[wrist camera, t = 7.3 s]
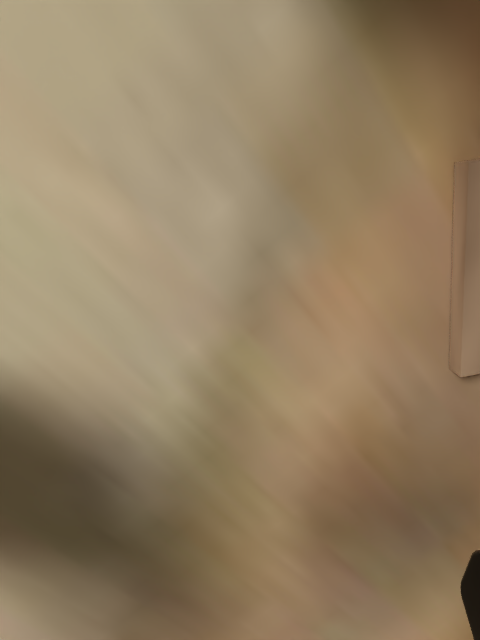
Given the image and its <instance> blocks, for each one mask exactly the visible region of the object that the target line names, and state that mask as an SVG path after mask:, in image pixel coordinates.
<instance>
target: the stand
mask: <svg viewBox="0 0 480 640" xmlns="http://www.w3.org/2000/svg"><path fill="white" fill-rule="evenodd" d="M449 369H450V370H451V371H453V372H454V373H455V374H457V375H458V376H459V377H466V376H471V375H477V374H480V159H474V160H467V161H461V162H455V165H454V202H453V239H452V275H451V312H450V349H449Z"/></svg>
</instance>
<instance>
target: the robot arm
mask: <svg viewBox="0 0 480 640" xmlns="http://www.w3.org/2000/svg"><path fill="white" fill-rule="evenodd" d="M461 596H462V600H463V603H464V607H465V610H466V614H467V617H468V621H469V624H470V627H471V631H472V634H473V638H474V640H480V550H477V551H475V552H474V553H473V554H472V555H471V558H470V560H469V563H468V566H467V568H466V571H465V573H464V576H463V578H462V581H461Z"/></svg>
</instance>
